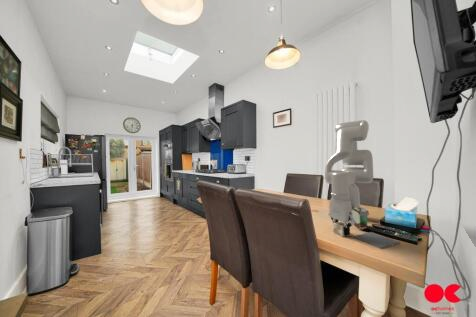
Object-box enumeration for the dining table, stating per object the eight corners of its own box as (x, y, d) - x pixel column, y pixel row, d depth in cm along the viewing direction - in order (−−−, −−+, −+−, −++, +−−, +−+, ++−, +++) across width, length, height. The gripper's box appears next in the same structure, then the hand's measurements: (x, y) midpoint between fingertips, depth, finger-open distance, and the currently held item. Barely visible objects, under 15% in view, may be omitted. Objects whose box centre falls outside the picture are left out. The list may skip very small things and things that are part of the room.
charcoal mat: (354, 237, 85) (354, 235, 85) (371, 233, 89) (371, 231, 89) (381, 248, 74) (381, 247, 74) (400, 243, 78) (400, 242, 78)
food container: (374, 232, 90) (373, 212, 90) (361, 231, 91) (360, 212, 91) (362, 223, 102) (362, 206, 102) (350, 223, 103) (350, 205, 103)
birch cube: (333, 232, 91) (333, 223, 91) (341, 231, 92) (340, 221, 92) (342, 236, 86) (342, 226, 86) (350, 235, 88) (349, 224, 88)
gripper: (321, 194, 96) (322, 228, 96) (350, 200, 80) (352, 241, 80) (332, 193, 99) (333, 226, 99) (362, 199, 83) (363, 238, 82)
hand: (341, 232), depth 89 cm, fingers closed on birch cube, 5 cm apart
